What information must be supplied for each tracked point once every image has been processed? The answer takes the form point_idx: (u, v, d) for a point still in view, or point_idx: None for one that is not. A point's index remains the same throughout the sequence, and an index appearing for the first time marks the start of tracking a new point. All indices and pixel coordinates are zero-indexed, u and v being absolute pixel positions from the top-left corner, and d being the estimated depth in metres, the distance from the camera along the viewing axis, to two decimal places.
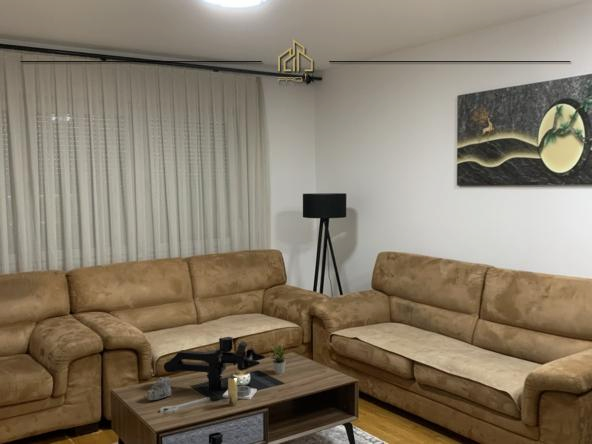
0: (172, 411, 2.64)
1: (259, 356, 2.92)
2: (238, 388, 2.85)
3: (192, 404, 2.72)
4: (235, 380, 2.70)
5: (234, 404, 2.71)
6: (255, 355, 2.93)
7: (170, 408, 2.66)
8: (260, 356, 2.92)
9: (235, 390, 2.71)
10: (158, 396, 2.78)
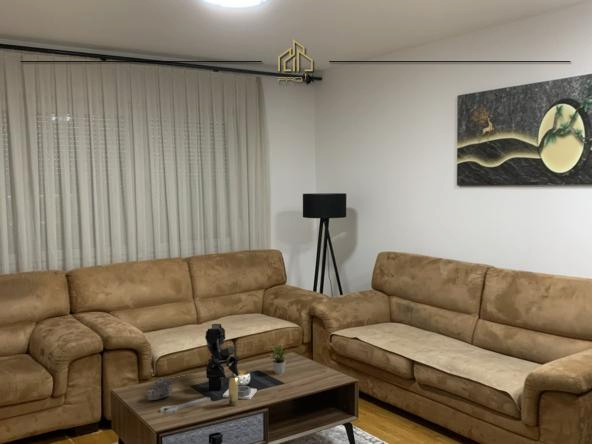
0: (172, 411, 2.64)
1: (235, 370, 2.82)
2: (238, 388, 2.85)
3: (192, 404, 2.73)
4: (236, 379, 2.71)
5: (234, 404, 2.71)
6: (233, 366, 2.83)
7: (170, 408, 2.66)
8: (235, 371, 2.82)
9: (236, 389, 2.71)
10: (158, 396, 2.78)
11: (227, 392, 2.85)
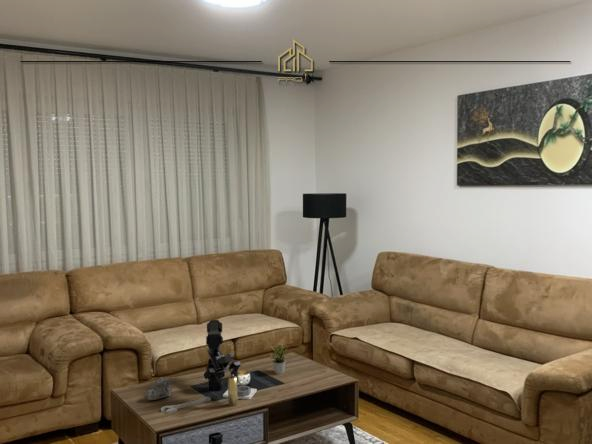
0: (173, 410, 2.65)
1: None
2: (238, 388, 2.85)
3: (193, 403, 2.73)
4: (235, 380, 2.71)
5: (234, 404, 2.71)
6: (234, 372, 2.79)
7: (171, 407, 2.67)
8: None
9: (235, 390, 2.71)
10: (157, 396, 2.78)
11: (227, 392, 2.85)
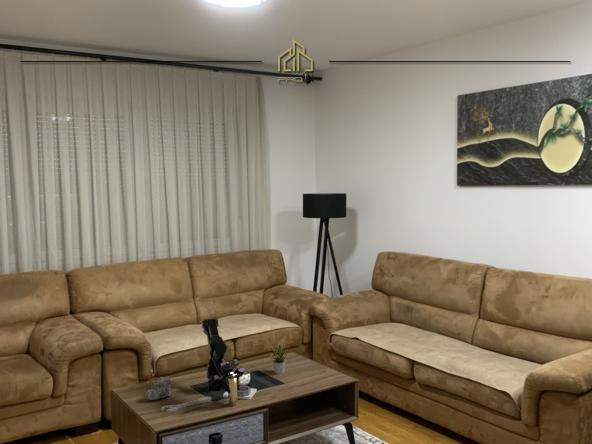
0: (173, 410, 2.65)
1: None
2: None
3: (193, 403, 2.73)
4: (234, 380, 2.70)
5: (234, 404, 2.71)
6: None
7: (171, 407, 2.67)
8: (237, 386, 2.74)
9: (234, 390, 2.70)
10: (157, 396, 2.78)
11: (227, 392, 2.85)
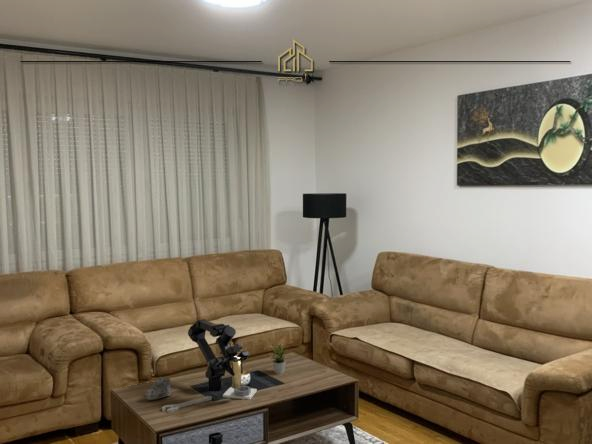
0: (174, 410, 2.66)
1: None
2: None
3: (194, 403, 2.74)
4: (238, 363, 2.75)
5: (237, 387, 2.75)
6: None
7: (172, 407, 2.68)
8: None
9: (238, 373, 2.75)
10: (157, 396, 2.79)
11: (227, 392, 2.85)
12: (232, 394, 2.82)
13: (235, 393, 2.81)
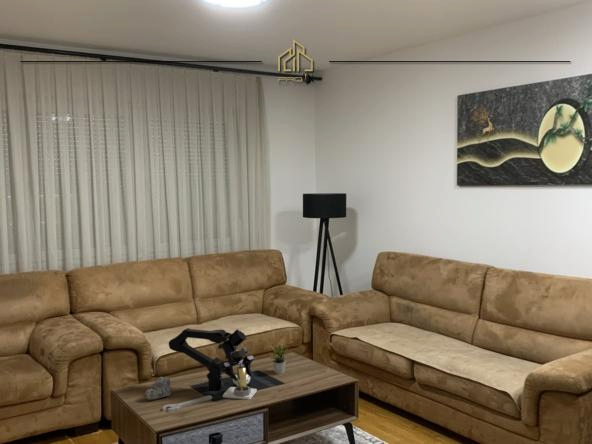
0: (174, 409, 2.66)
1: (248, 371, 2.85)
2: None
3: (194, 402, 2.75)
4: (243, 370, 2.81)
5: None
6: (247, 367, 2.87)
7: (172, 406, 2.68)
8: (248, 372, 2.85)
9: (244, 379, 2.81)
10: (157, 395, 2.79)
11: (227, 392, 2.85)
12: (232, 394, 2.82)
13: (235, 393, 2.81)
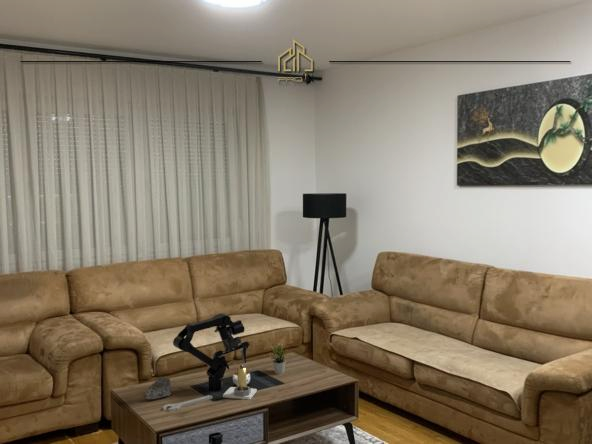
0: (175, 409, 2.67)
1: (243, 357, 2.93)
2: None
3: (195, 402, 2.75)
4: (244, 370, 2.81)
5: None
6: (242, 353, 2.93)
7: (173, 406, 2.69)
8: (243, 358, 2.92)
9: (244, 380, 2.81)
10: (156, 395, 2.79)
11: (227, 392, 2.85)
12: (232, 394, 2.82)
13: (235, 393, 2.81)
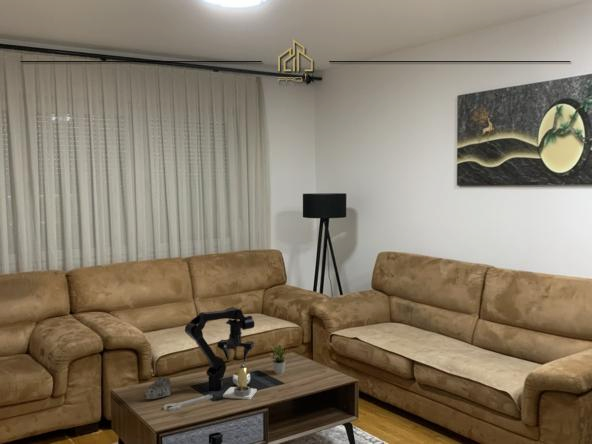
0: (175, 408, 2.67)
1: None
2: None
3: (195, 401, 2.76)
4: (245, 370, 2.81)
5: None
6: None
7: (173, 405, 2.69)
8: None
9: (244, 379, 2.81)
10: (156, 395, 2.79)
11: (227, 392, 2.85)
12: (232, 394, 2.82)
13: (235, 393, 2.81)
